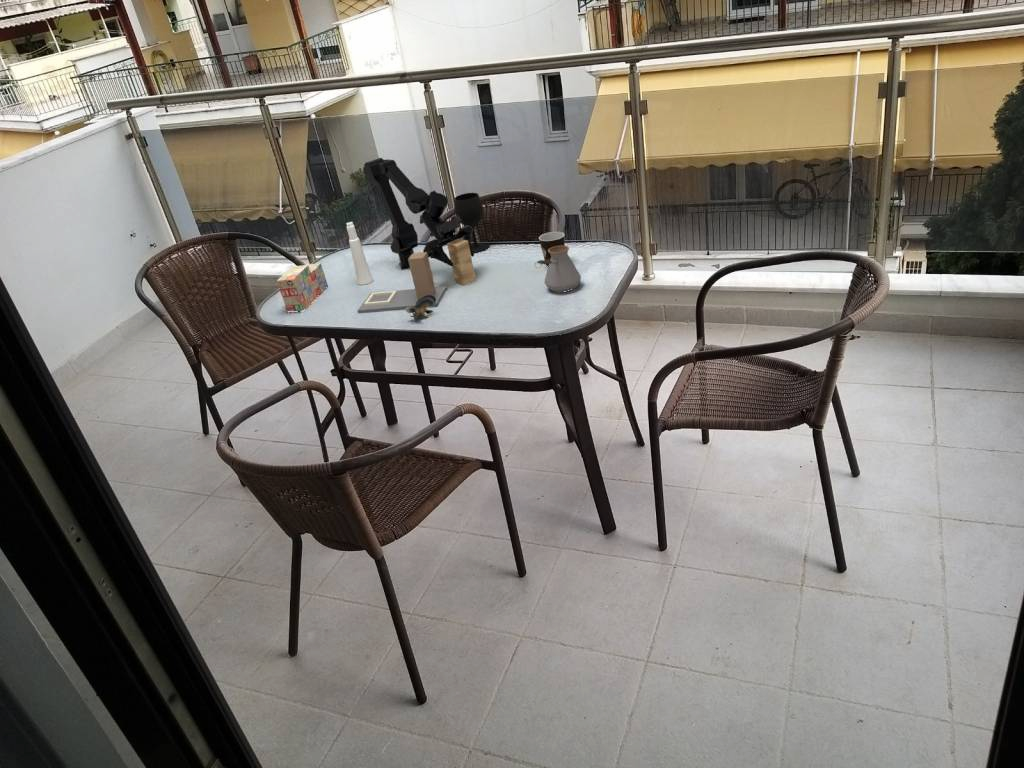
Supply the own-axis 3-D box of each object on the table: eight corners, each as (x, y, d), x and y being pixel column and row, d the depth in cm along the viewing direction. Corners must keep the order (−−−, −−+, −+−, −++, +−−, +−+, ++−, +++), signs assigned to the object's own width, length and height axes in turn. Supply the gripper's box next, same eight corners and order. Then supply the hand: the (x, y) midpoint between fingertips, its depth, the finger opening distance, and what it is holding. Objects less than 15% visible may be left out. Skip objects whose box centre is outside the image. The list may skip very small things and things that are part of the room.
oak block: (455, 282, 259) (447, 243, 252) (466, 277, 262) (458, 238, 255) (464, 285, 255) (456, 245, 249) (475, 280, 258) (468, 240, 251)
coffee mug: (568, 267, 255) (565, 238, 250) (543, 270, 255) (538, 242, 251) (567, 255, 265) (563, 227, 260) (542, 258, 266) (538, 231, 261)
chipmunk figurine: (429, 320, 232) (442, 302, 238) (412, 303, 230) (426, 286, 236) (416, 330, 237) (429, 313, 243) (399, 314, 235) (412, 297, 241)
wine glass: (462, 246, 291) (451, 195, 281) (488, 241, 291) (479, 190, 281) (463, 255, 281) (452, 202, 272) (491, 250, 282) (481, 197, 272)
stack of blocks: (312, 288, 277) (303, 256, 271) (328, 286, 276) (319, 254, 270) (287, 313, 259) (276, 280, 253) (304, 312, 258) (293, 278, 252)
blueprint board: (371, 295, 261) (360, 254, 254) (447, 288, 255) (437, 246, 248) (358, 313, 249) (346, 270, 242) (436, 306, 243) (426, 262, 236)
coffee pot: (554, 279, 247) (547, 235, 240) (587, 280, 242) (581, 235, 235) (526, 308, 231) (519, 261, 224) (561, 309, 226) (555, 262, 219)
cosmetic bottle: (358, 286, 271) (341, 227, 260) (356, 281, 276) (339, 222, 265) (375, 282, 272) (359, 222, 261) (372, 277, 277) (356, 218, 266)
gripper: (420, 219, 245) (448, 256, 242) (464, 201, 255) (491, 237, 252) (411, 239, 254) (438, 275, 252) (454, 221, 264) (480, 256, 262)
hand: (463, 260), depth 254 cm, fingers open, 9 cm apart
